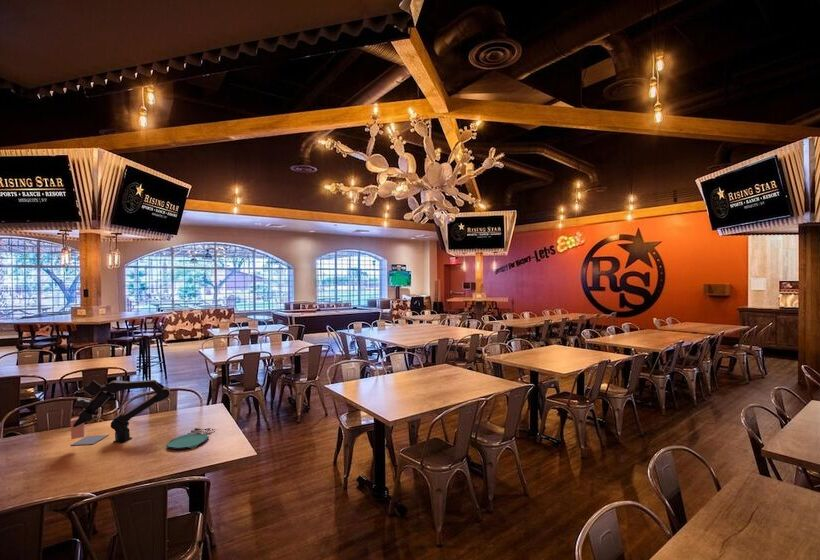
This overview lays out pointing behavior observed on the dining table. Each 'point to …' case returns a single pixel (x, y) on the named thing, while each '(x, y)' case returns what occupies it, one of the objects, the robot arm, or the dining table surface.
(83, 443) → the slate mat
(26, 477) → the dining table surface
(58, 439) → the dining table surface
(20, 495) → the dining table surface
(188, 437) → the green leaf shaped mat
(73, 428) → the red block
